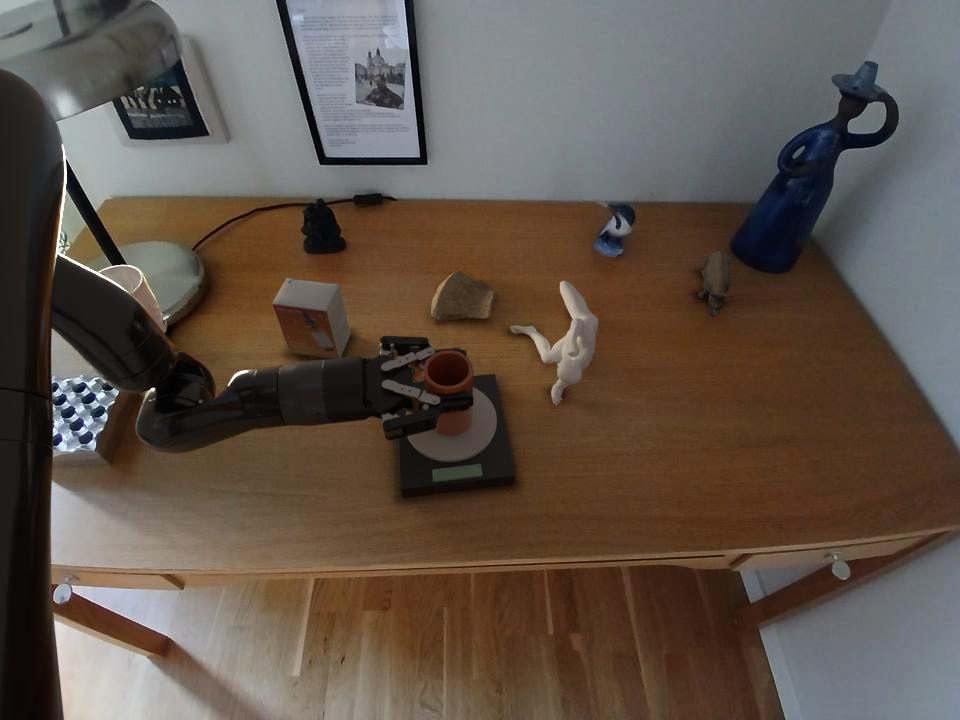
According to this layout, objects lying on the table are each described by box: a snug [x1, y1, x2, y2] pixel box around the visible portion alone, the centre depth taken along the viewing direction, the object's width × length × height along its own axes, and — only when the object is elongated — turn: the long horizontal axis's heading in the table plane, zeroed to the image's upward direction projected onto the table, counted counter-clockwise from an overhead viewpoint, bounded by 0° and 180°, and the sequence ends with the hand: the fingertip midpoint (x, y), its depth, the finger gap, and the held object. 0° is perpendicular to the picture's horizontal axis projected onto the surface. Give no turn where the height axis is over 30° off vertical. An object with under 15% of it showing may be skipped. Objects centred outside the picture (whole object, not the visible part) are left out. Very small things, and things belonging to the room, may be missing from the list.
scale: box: [396, 373, 516, 499], centre depth 73 cm, size 16×14×3 cm
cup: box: [423, 350, 474, 435], centre depth 68 cm, size 6×6×10 cm
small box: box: [271, 277, 352, 359], centre depth 80 cm, size 8×6×10 cm
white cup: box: [96, 264, 168, 334], centre depth 82 cm, size 8×8×10 cm
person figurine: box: [509, 280, 599, 406], centre depth 80 cm, size 13×13×18 cm
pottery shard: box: [430, 270, 498, 322], centre depth 89 cm, size 11×4×10 cm
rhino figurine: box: [698, 250, 731, 318], centre depth 90 cm, size 4×14×6 cm, turn 165°
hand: (469, 377), depth 66 cm, fingers closed on cup, 5 cm apart
